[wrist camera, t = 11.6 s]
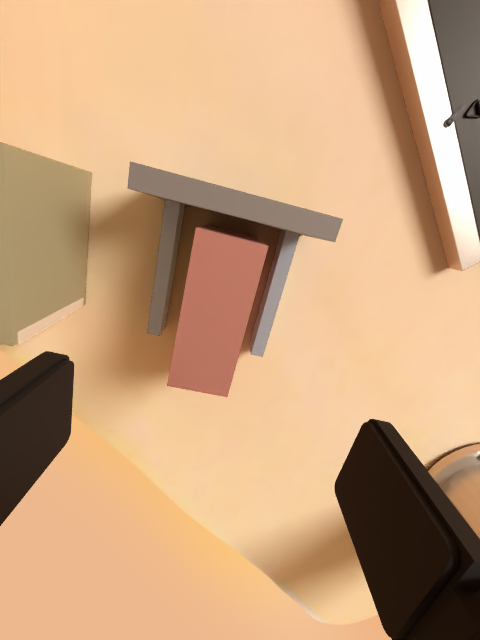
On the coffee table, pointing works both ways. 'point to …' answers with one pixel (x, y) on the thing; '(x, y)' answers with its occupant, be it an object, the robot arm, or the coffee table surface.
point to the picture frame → (443, 110)
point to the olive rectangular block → (40, 242)
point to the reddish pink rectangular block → (215, 309)
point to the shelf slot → (235, 205)
